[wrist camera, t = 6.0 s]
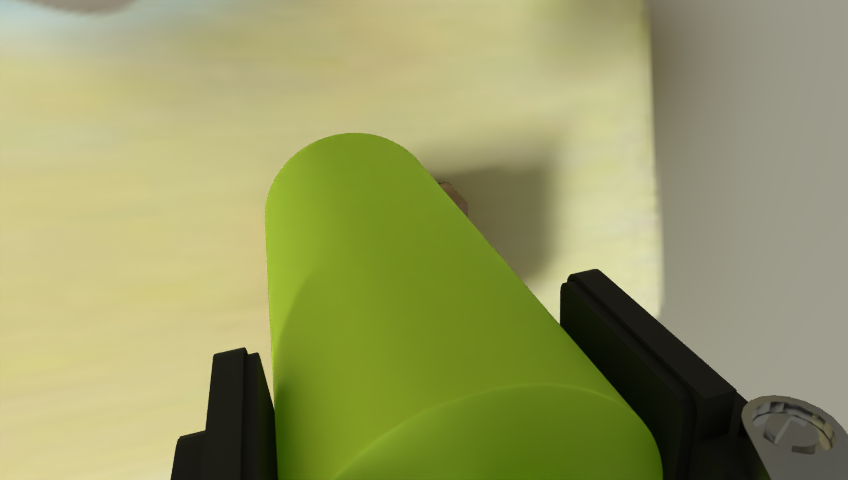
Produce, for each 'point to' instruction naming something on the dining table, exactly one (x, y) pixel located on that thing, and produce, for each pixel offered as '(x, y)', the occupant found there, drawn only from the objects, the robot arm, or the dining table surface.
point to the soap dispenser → (421, 339)
